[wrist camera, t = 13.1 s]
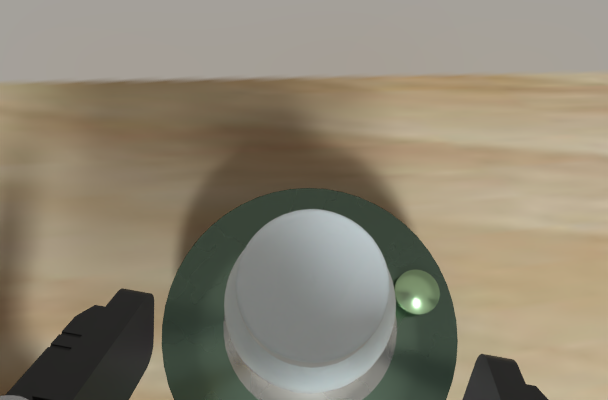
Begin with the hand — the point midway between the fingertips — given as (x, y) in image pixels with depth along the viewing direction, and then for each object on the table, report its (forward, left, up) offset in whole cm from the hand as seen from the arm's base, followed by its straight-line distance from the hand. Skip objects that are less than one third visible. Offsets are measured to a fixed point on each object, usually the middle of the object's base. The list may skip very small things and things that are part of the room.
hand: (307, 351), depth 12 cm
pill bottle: (+1, +2, -10) cm, 10 cm away
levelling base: (+1, +2, -14) cm, 14 cm away
